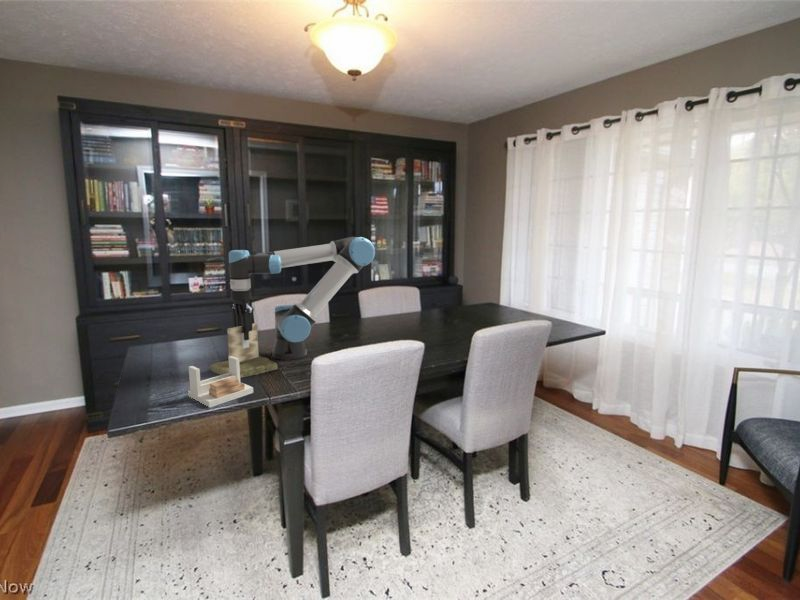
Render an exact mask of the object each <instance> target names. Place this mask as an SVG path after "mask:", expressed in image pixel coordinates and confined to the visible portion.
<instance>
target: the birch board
mask: <svg viewBox="0 0 800 600" xmlns="http://www.w3.org/2000/svg"><path fill="white" fill-rule="evenodd" d="M226 331H227V343H228V344H227V346H228V357H229V356H233V357H236V358H239V362H242V361H245V360H249V359H253V358H257V357H259V356H260V355H259V352H260V351H259V337H258V336H259V335H258V334H259V333H258V324H257V323H254V322H253V323H252V331H249V347H248V348H244V349H243V348H242V336H241V331H243V330H242V326H239V327H229V328H227V330H226Z"/></svg>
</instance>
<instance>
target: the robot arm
mask: <svg viewBox="0 0 800 600" xmlns="http://www.w3.org/2000/svg"><path fill="white" fill-rule="evenodd" d="M375 254H376V249H375V245H374V243H372V242H371V240H369V238H366V237H362V236H359V237H357V236H349V237H346V238H341V239H337V240H331V241H330V242H329V243H325V244H319V245H310V246H305V247H296V248H288V249H282V250H274V251H267V252H261V251H260V252H258V253H256V254H255V255H253V254H250V252H249V250H246V249H234V250H232V249H231V250H230V251H229V252H228V271H229V281H230V282H229V285H230V290H231V291H230V299H231V300H232V301H233V304H229V307H230V311H231V316H232V317H231V318H232V325H233V327H239V326H242V330H243V331H241V336H242V348H243V349H244V348H248V347H249V331H252V324H254V322H253V319H254V310H255V308H254V307H252V306H250V302H249V300H251V299H252V291H251V287H252V285H251V284H252V283H251V275H265V274H267V275H268V274H271V275H273V274H274V275H275V274H280V273H281V272H282V269H283V268H290V267H296V266H303V265H308V264H309V265H310V264H317V263H323V262H324V263H325V262H329V261H330V262H331V261H333V262H334V264H333V265H332V266H331V268H329V269H328V270H327V272H326V273H325V274H324V275H323V276H322V278H321V279H319V281H318V282H317V283H316V285H315V286H314V287H313V288H312V289H311V290H310V292H308V294H307V295H306V296H305V297H304V298H303V300H301V302H299V303H294V304H288V305H287V304H286V305H285V304H284V305H277V306H275V308H274V313H273V314H274V320H275V321H274V322H275V323H274V325H275V341H274V345H273V349H272V357H273V358H274V359H275V360H276V359H277V360H281V361H283V360H284V361H286V360H290V361H291V360H297V359H301V358H304V357H305V356H307V354H308V353H307V351H308V349H307V347H306V343H305V341H304V340H306V339H307V338H308V337H309V335H310V333H311V330H312V327H313V326H314V325H315V324H316V322H317V316H318V315H319V313H320V312H322V310H323V309H324V308H325V306H326V305H327V304H328V303H329V302H330V301H331V300H332V298H333V297H334V296H335V295H336V294H337V292H338V291H339V290H340V289H341V287H343V285H344V284H345V283H346V282H347V281H348V279H350V277H351V276H352V275H354V274H358V273H359V272H360V271H361V269H363V267H365V266H368V265H370V263H372V262H373V260H374V259H375V256H376V255H375ZM233 327H232V328H233Z"/></svg>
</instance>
